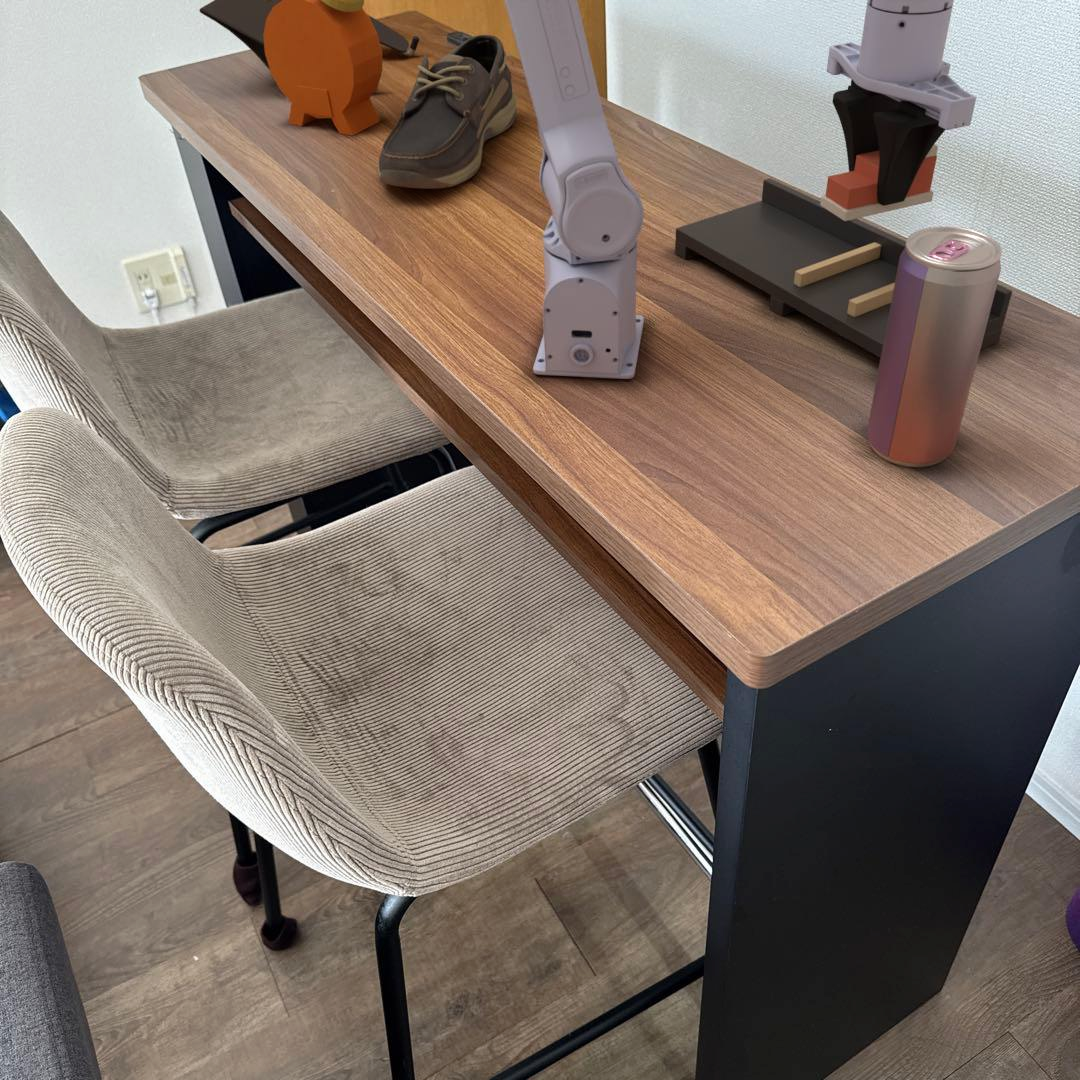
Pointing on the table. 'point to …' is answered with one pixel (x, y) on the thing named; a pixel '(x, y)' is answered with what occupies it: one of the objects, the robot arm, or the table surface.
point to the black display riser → (813, 263)
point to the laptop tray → (246, 17)
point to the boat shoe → (450, 117)
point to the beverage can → (932, 343)
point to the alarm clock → (325, 61)
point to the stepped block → (873, 188)
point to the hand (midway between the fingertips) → (877, 193)
